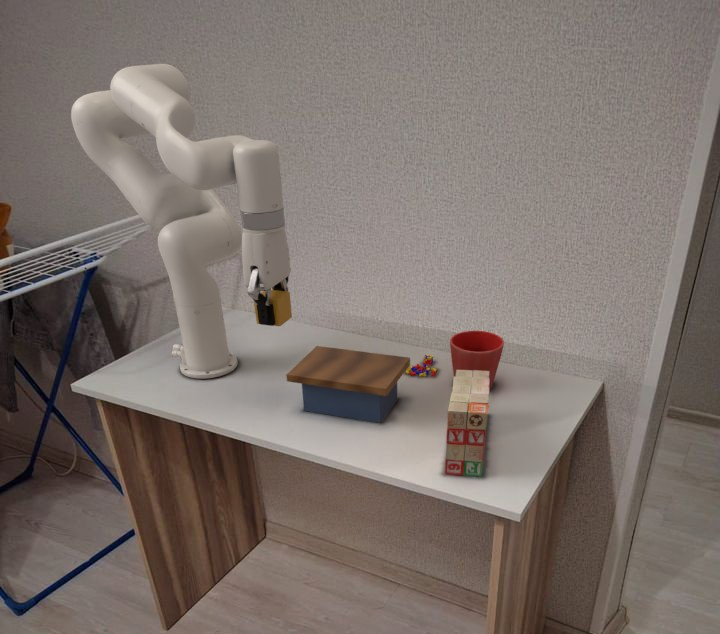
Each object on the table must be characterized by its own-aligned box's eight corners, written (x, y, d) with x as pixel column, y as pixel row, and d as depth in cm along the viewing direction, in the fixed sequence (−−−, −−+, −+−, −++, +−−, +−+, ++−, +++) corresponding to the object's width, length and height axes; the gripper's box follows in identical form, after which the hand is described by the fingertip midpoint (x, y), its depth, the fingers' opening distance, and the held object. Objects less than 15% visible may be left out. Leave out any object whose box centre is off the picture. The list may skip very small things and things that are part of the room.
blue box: (304, 410, 133) (301, 378, 129) (324, 388, 140) (322, 357, 136) (380, 423, 127) (379, 390, 124) (397, 399, 135) (397, 367, 131)
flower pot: (510, 381, 140) (514, 337, 134) (482, 401, 133) (486, 356, 128) (466, 368, 146) (468, 325, 140) (437, 387, 139) (439, 343, 133)
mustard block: (256, 323, 127) (253, 297, 125) (269, 314, 131) (266, 289, 128) (280, 326, 126) (277, 300, 123) (292, 317, 130) (289, 291, 127)
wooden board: (286, 381, 128) (286, 374, 127) (317, 352, 138) (316, 345, 137) (386, 396, 121) (386, 388, 120) (410, 364, 132) (410, 357, 131)
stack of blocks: (454, 413, 130) (457, 353, 123) (487, 415, 129) (492, 355, 122) (444, 474, 112) (447, 409, 106) (482, 477, 111) (488, 412, 104)
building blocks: (402, 374, 144) (402, 367, 144) (416, 359, 150) (417, 352, 149) (431, 379, 142) (431, 372, 141) (444, 364, 148) (444, 357, 147)
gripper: (267, 207, 126) (277, 302, 136) (219, 230, 113) (234, 333, 123) (303, 209, 123) (311, 305, 134) (258, 233, 110) (270, 338, 121)
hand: (274, 318), depth 128 cm, fingers closed on mustard block, 5 cm apart
